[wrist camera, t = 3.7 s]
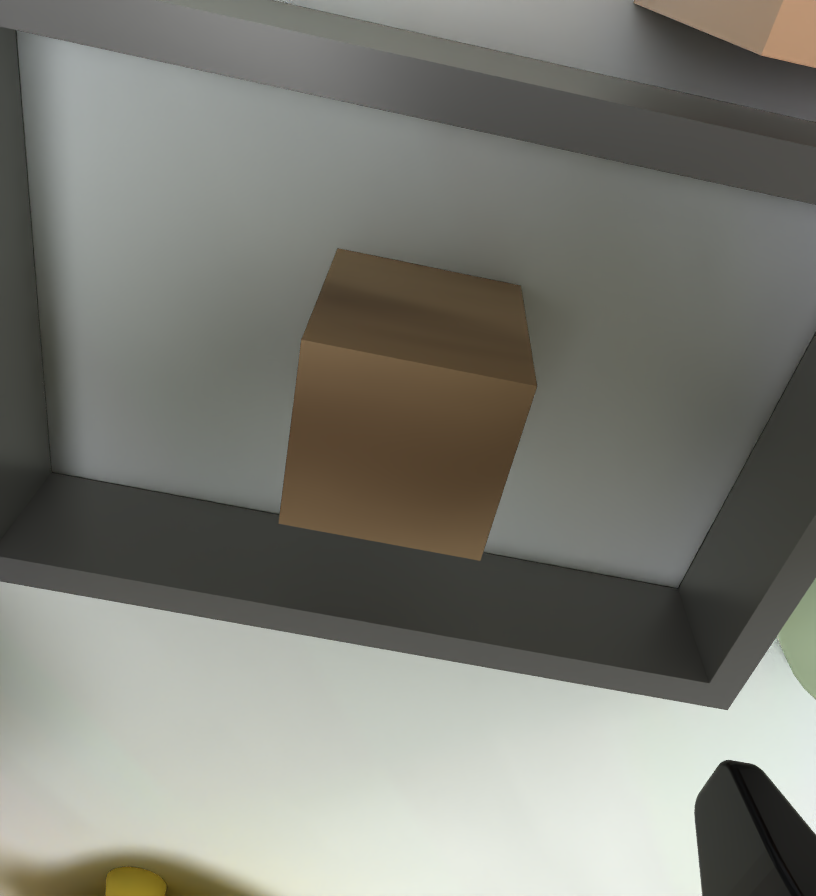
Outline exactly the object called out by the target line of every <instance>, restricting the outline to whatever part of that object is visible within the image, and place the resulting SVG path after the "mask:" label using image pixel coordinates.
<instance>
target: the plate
mask: <svg viewBox="0 0 816 896" xmlns="http://www.w3.org/2000/svg"><path fill="white" fill-rule="evenodd" d="M777 639H778V641H779V643H780V646H781V648H782V650H783V652H784V655H785V657H786V659H787V661H788V663H789V665H790V668H791V670H792V672H793V674H794V675H795V677H796V678H797V680H798V681H799V682H800V684H801V685H802V686H803V688H804V689H805V690H806V691H807V692H808V693H809V694H810V695H811V696H813V697H814V698H815V699H816V578H815V580H814V581H813V583H812V584H811V586H810V587H809V589H808V590H807V592H806V593H805V595H804V596H803V598H802V599H801V601H800V602H799V604H798V605H797V607H796V608H795V610H794V611H793V613H792V614H791V616H790V617H789V619H788V620H787V622H786V623H785V625H784V626H783V628H782V629H781V631H780V632H779V634H778V635H777Z"/></svg>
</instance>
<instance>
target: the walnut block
mask: <svg viewBox="0 0 816 896" xmlns="http://www.w3.org/2000/svg"><path fill="white" fill-rule="evenodd" d="M536 389H537V382H536V376H535V370H534V364H533V357H532V351H531V345H530V339H529V333H528V327H527V320H526V314H525V308H524V302H523V296H522V290H521V286H520V285H515V284H511V283H506V282H501V281H496V280H491V279H486V278H481V277H476V276H471V275H466V274H462V273H457V272H452V271H447V270H442V269H437V268H432V267H427V266H422V265H417V264H413V263H408V262H403V261H398V260H393V259H388V258H383V257H378V256H373V255H369V254H364V253H359V252H354V251H349V250H344V249H339V248H337V251H336V254H335V256H334V259H333V261H332V264H331V266H330V269H329V271H328V274H327V276H326V279H325V281H324V284H323V286H322V289H321V291H320V294H319V296H318V299H317V301H316V304H315V306H314V309H313V311H312V314H311V316H310V319H309V322H308V324H307V327H306V329H305V332H304V334H303V337H302V339H301V346H300V354H299V362H298V370H297V378H296V386H295V394H294V403H293V411H292V419H291V427H290V435H289V443H288V451H287V459H286V467H285V475H284V483H283V491H282V499H281V507H280V515H279V523H278V524H283V525H289V526H294V527H300V528H305V529H310V530H316V531H321V532H327V533H332V534H337V535H343V536H348V537H354V538H359V539H365V540H370V541H375V542H381V543H386V544H392V545H397V546H403V547H408V548H413V549H419V550H424V551H430V552H435V553H441V554H446V555H451V556H457V557H462V558H468V559H473V560H479V561H480V560H481V557H482V554H483V551H484V548H485V545H486V542H487V539H488V536H489V533H490V530H491V527H492V524H493V520H494V517H495V514H496V511H497V508H498V505H499V502H500V499H501V496H502V493H503V490H504V487H505V484H506V481H507V477H508V474H509V471H510V468H511V465H512V462H513V459H514V456H515V453H516V450H517V447H518V444H519V441H520V438H521V435H522V431H523V428H524V425H525V422H526V419H527V416H528V413H529V410H530V407H531V404H532V401H533V398H534V395H535V392H536Z"/></svg>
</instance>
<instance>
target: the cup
mask: <svg viewBox="0 0 816 896" xmlns="http://www.w3.org/2000/svg"><path fill="white" fill-rule="evenodd" d="M633 3H635V4H637V5H640V6H642V7H644V8H647V9H649V10H652V11H654V12H657V13H659V14H661V15H664V16H666V17H669V18H671V19H674V20H676V21H678V22H681V23H683V24H686V25H688V26H691V27H693V28H695V29H698V30H700V31H703V32H705V33H708V34H710V35H712V36H715V37H717V38H720V39H722V40H725V41H727V42H730V43H732V44H734V45H737V46H739V47H742V48H744V49H747V50H749V51H751V52H754V53H756V54H759V55H761V56H766V57H770V58H774V59H779V60H783V61H787V62H792V63H796V64H800V65H805V66H809V67H814V68H816V0H634V2H633Z"/></svg>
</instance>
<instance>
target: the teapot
mask: <svg viewBox="0 0 816 896" xmlns="http://www.w3.org/2000/svg"><path fill="white" fill-rule="evenodd" d="M166 890H167V885H166V883H165V881H164V880H163V879H162V878H161V877H160V876H158V875H157V874H155V873H153V872H151V871H148V870H146V869H142V868H137V867H118V868H115V869H113V870H111V871H110V872H108V874H107V876H106V891H105V896H165V893H166Z"/></svg>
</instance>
